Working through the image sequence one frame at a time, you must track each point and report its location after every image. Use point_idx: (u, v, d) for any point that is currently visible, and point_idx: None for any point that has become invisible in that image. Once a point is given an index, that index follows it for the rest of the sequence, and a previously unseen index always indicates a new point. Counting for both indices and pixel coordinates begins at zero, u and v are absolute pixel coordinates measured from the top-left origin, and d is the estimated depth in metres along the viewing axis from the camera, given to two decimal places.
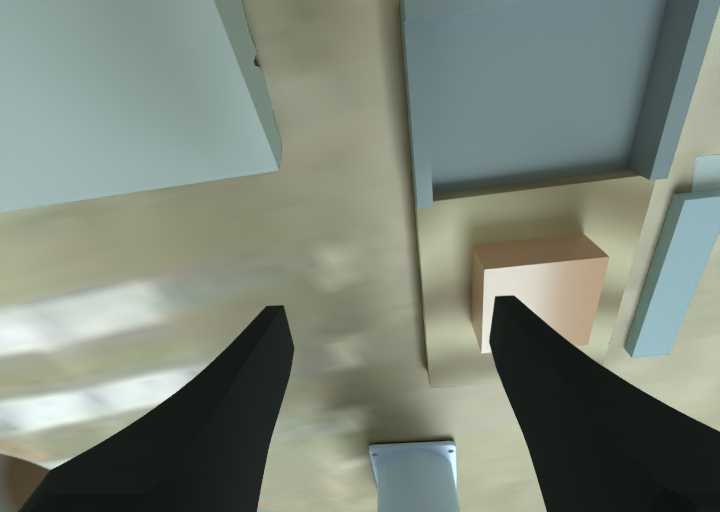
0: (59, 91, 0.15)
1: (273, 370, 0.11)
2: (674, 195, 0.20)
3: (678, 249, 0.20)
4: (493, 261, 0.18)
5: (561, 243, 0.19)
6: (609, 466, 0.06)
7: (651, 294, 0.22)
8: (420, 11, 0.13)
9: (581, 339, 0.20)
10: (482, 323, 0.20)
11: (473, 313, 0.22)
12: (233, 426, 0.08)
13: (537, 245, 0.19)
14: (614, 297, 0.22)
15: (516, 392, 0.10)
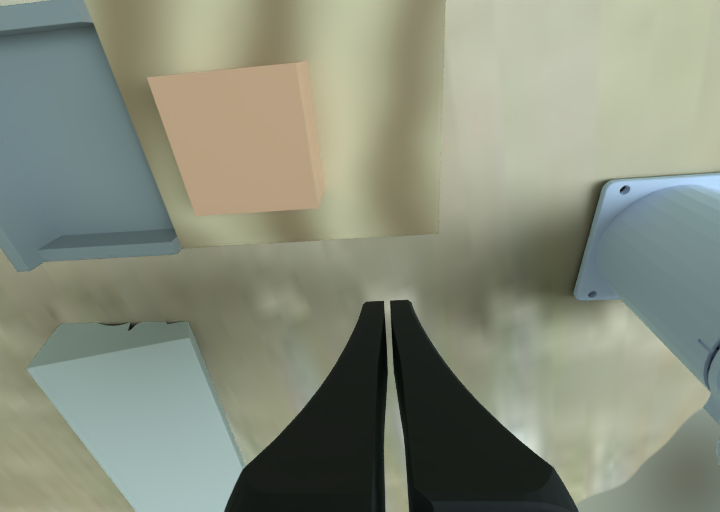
0: (147, 427, 0.28)
1: (384, 367, 0.11)
2: None
3: None
4: None
5: None
6: (410, 467, 0.06)
7: None
8: (21, 262, 0.20)
9: (285, 76, 0.14)
10: (271, 210, 0.17)
11: None
12: (378, 424, 0.08)
13: None
14: None
15: (399, 394, 0.10)
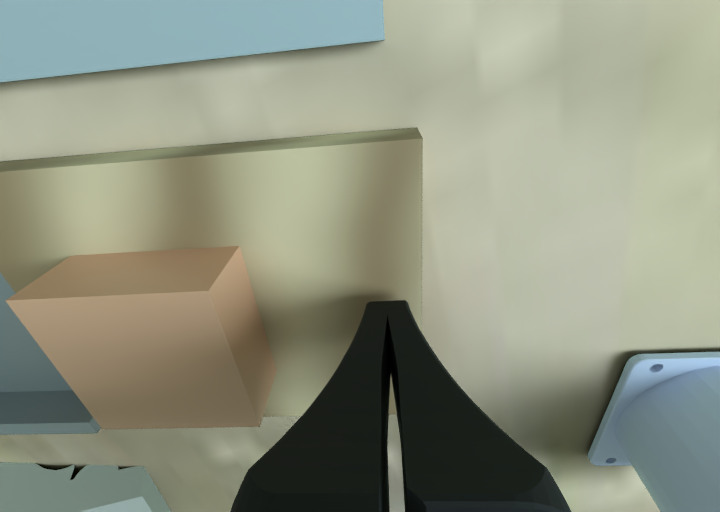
0: None
1: (387, 367, 0.11)
2: None
3: (55, 52, 0.10)
4: None
5: None
6: (404, 467, 0.06)
7: (183, 61, 0.10)
8: None
9: (196, 303, 0.10)
10: (198, 425, 0.13)
11: None
12: (383, 424, 0.08)
13: None
14: (177, 173, 0.10)
15: (395, 394, 0.10)
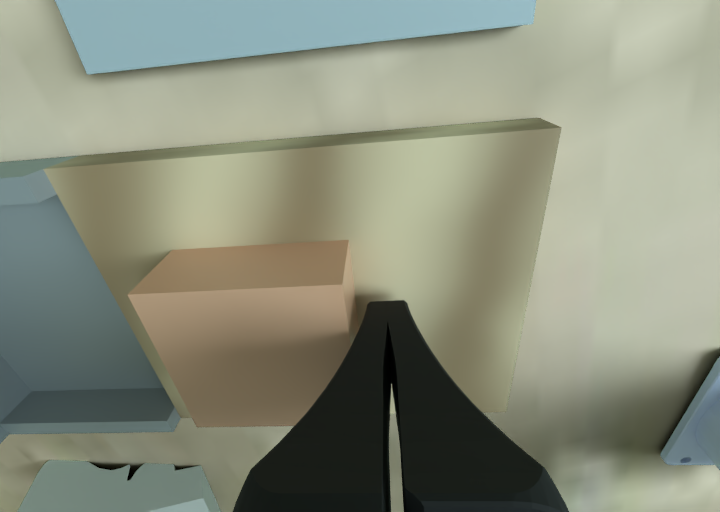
0: None
1: (388, 367, 0.11)
2: (107, 72, 0.10)
3: (187, 38, 0.09)
4: None
5: None
6: None
7: (316, 47, 0.09)
8: None
9: (325, 298, 0.10)
10: None
11: None
12: (384, 424, 0.08)
13: None
14: (299, 164, 0.10)
15: (394, 394, 0.10)
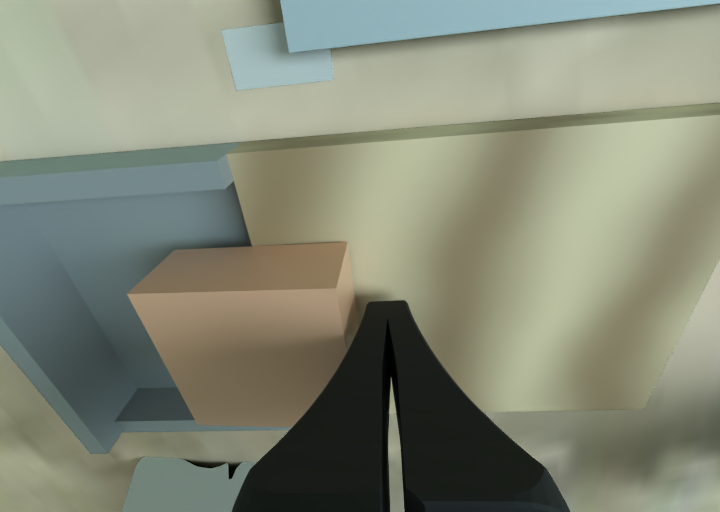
0: None
1: (388, 367, 0.11)
2: (296, 51, 0.10)
3: (407, 13, 0.09)
4: None
5: None
6: None
7: (540, 23, 0.09)
8: (97, 446, 0.15)
9: (320, 301, 0.09)
10: None
11: None
12: (383, 424, 0.08)
13: None
14: (501, 148, 0.10)
15: (395, 394, 0.10)
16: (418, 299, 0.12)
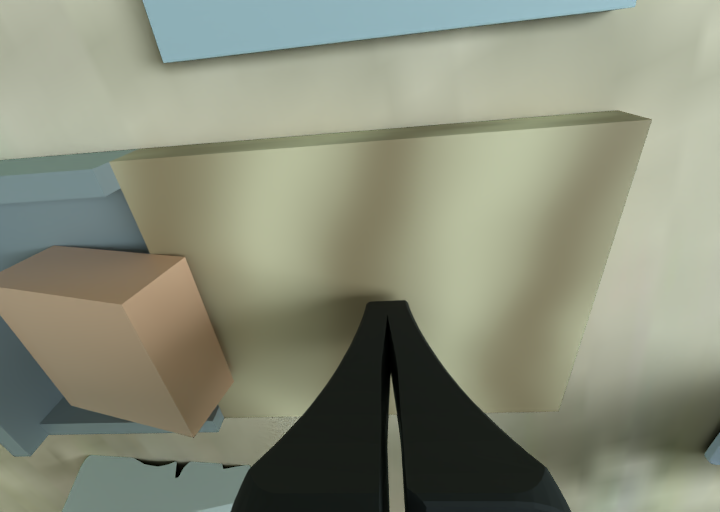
0: None
1: (387, 367, 0.11)
2: (178, 60, 0.10)
3: (271, 24, 0.09)
4: None
5: None
6: (404, 467, 0.06)
7: (404, 33, 0.09)
8: (19, 448, 0.15)
9: (114, 314, 0.10)
10: (144, 422, 0.13)
11: None
12: (383, 424, 0.08)
13: None
14: (375, 157, 0.10)
15: (395, 394, 0.10)
16: (320, 304, 0.13)
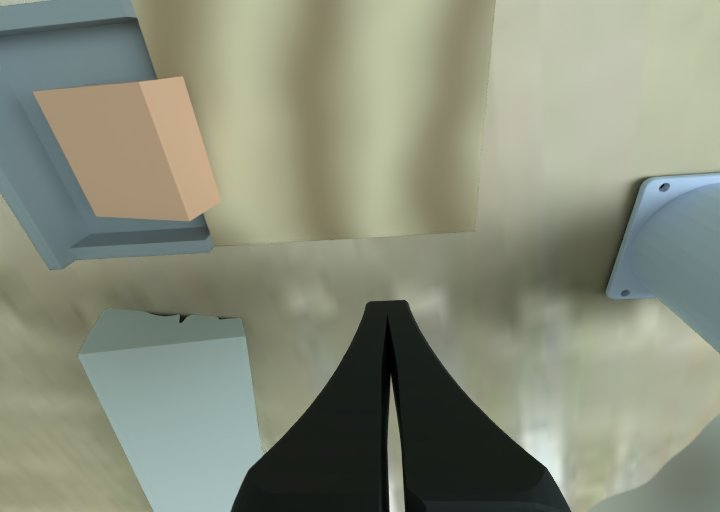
0: (183, 421, 0.27)
1: (387, 367, 0.11)
2: None
3: None
4: None
5: None
6: (404, 467, 0.06)
7: None
8: (54, 260, 0.20)
9: (133, 94, 0.14)
10: (152, 218, 0.17)
11: None
12: (383, 424, 0.08)
13: None
14: None
15: (395, 394, 0.10)
16: (284, 124, 0.17)
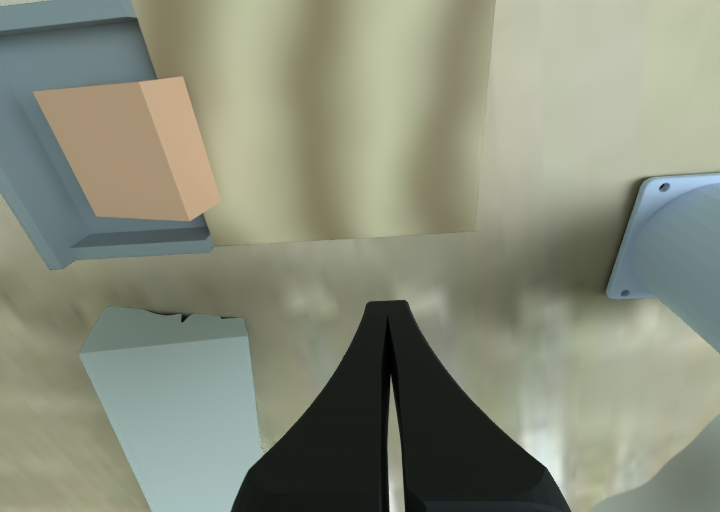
0: (183, 421, 0.27)
1: (387, 367, 0.11)
2: None
3: None
4: None
5: None
6: (404, 467, 0.06)
7: None
8: (54, 260, 0.20)
9: (133, 94, 0.14)
10: (152, 218, 0.17)
11: None
12: (383, 424, 0.08)
13: None
14: None
15: (395, 394, 0.10)
16: (284, 124, 0.17)
